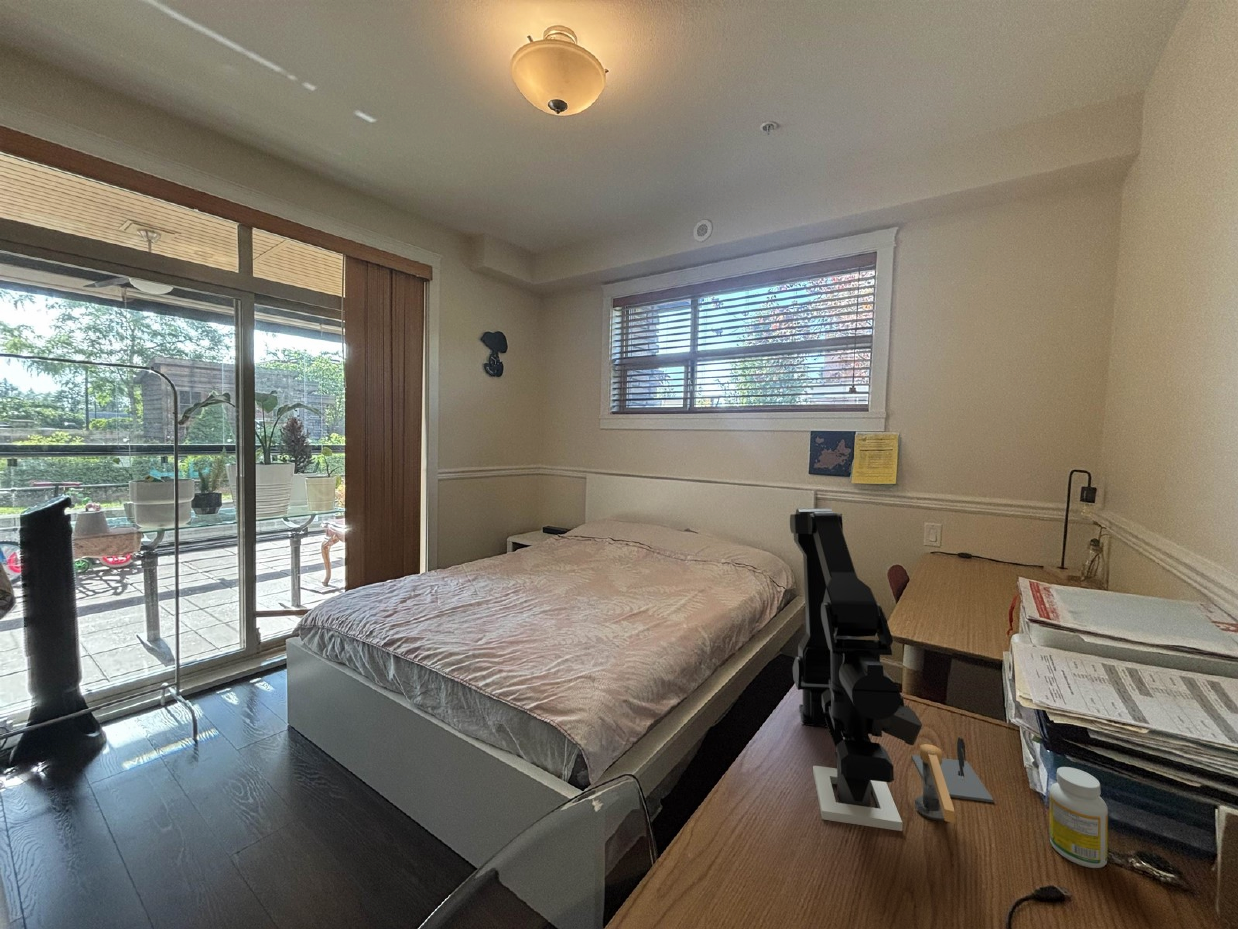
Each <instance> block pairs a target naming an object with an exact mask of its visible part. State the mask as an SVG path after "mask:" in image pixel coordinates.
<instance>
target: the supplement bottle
mask: <svg viewBox="0 0 1238 929" xmlns="http://www.w3.org/2000/svg"><path fill="white" fill-rule="evenodd" d="M1100 795H1101V783H1100V781H1099V780H1098V779H1097V778H1096V777H1095V776H1093V775H1092V774H1090V773H1088V772H1086V771H1083V770H1081V769H1078V768H1075V767H1069V766H1060V767H1058V768H1057V769H1056V782H1055V783H1052V784H1051V786H1050V789H1049V841H1050V844H1051V846H1052V847H1053V848H1054V850H1055V851H1056V852H1057V853H1058V854H1060V855H1061V856H1062V857H1064V858H1065V859H1066V860H1068V861H1070V862H1073V863H1074V864H1076V865H1079V866H1082V867H1086V868H1089V869H1091V868H1092V869H1100V868H1103V867H1105V865H1107V864H1108V826H1109V825H1108V822H1109V821H1108V820H1109V814H1108V813H1109V810H1108V806H1107V804H1106V802H1105V800H1104V799H1103V798H1102V797H1101V796H1100Z"/></svg>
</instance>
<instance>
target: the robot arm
mask: <svg viewBox="0 0 1238 929" xmlns="http://www.w3.org/2000/svg"><path fill="white" fill-rule="evenodd" d="M843 525H844V524H843V513H837V512H836V511H833V510H832V509H831V508H826V507H825V508H823V507H822V508H796V511H795V513H793V514H790V515H789V528H790V533H791V534H793V541H794V543H795V544H796V546H797V547H798V549H799V550H800V552H801V553H802V556H803V558H802V559H803V560H802V562H803V578H804V579H803V583H804V584H803V585H804V586H803V587H804V603H805V604H804V605H805V606H804V607H805V608H804V609H805V626H806V627H805V628H806V630H805V631H806V632H805V634H804V635H803V636H802V638H801V639H800V642H798V646H797V647H798V648H797V654H798V655H797V656H795V658H794V662H793V664H792V676H793V677H792V678H793V682H794V684H795V686H796V689H797V690H798V691H801V690H802V704H801V703H800V704H799V713H801V714H800V719H801V723H802V724H803V725H808V726H816V727H827V729H828V731H829V733H830V734H829V735H830V736H831V739H832V741H833V744H834V747H835V750H836V751H834V755H835V758H836V763H837V762H838V765H839V768H840V772H841V774H842V775H843V776H844V778H845V781H846V783H847V785H848V787H849V790H850V792H851V795H852V797H853V799H854V801H857V802H862V801H863V799H864V796H865V793H866V790H867V787H868V784H869V781H870V780H873V781H881V782H886V783H889V784H890V783H893V781H895V774H894V773H895V772H894V771H895V770H894V768H895V767H894V764H893V762H892V760H891V758H890V756H889V753H888V750H886V748H885V747H883V746H882V745H881V744H880V743H879V742H874V741H873V742H872V740H871V737H878V738H883V733H884V734H887V735H888V736H891V737H894V738H897V739H898V740H900V741H903V742H904V743H905V744H906V745H908V746H909V745H910V746H914V745H915V744H916V741H917V739H918V737H919V735H920V733H921V732H920V731H921V730H922V727H923V722H922V721H921V720H920V718H919V717H918V715H917V713H916V712H915V710H913V709H912V708H911V706H909V705H907V704H906V705H905V703H904V702H905V701H904V697H903V696H902V694H901V692H900V689H899V687H898V686H897V684H896V683H895V682H894V680H893V679H892V678H891V676H889V674H888V672H886V670H885V669H884V665H883V664H882V662H881V656H892V655H893V651H892V647H891V646H892V645H893V643H894V640H893V637H892V633H891V629H890V627H889V624H888V623H889V622H888V620H887V616H886V613H885V612H884V611H883V608H882V605H881V604H880V603H878V601H877V599H876V598H875V595H874V593H873V591H872V588H871V587H870V586H869V585H868V584H866V583H865V582H863V581H862V580H861V579H860V578H859V576H858V575H857V572H856V569H855V566H854V563H853V560H852V557H851V553H850V550H849V547H848V544H847V541H846V538H845V535H844V526H843ZM876 635H877V637H878V638H877V639H862V638H875V636H876ZM870 735H871V737H870Z"/></svg>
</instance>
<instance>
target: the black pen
mask: <svg viewBox="0 0 1238 929" xmlns="http://www.w3.org/2000/svg"><path fill="white" fill-rule="evenodd" d="M956 743H957V744H956V751H957V760H958V761H959V767H960V771H958V775H960V773H961V775H960V776H962V780H964V773H963V768H964V761H965V741H964V738H961V737H958V738H957V740H956ZM962 766H963V767H962ZM960 776H959V779H960Z"/></svg>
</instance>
